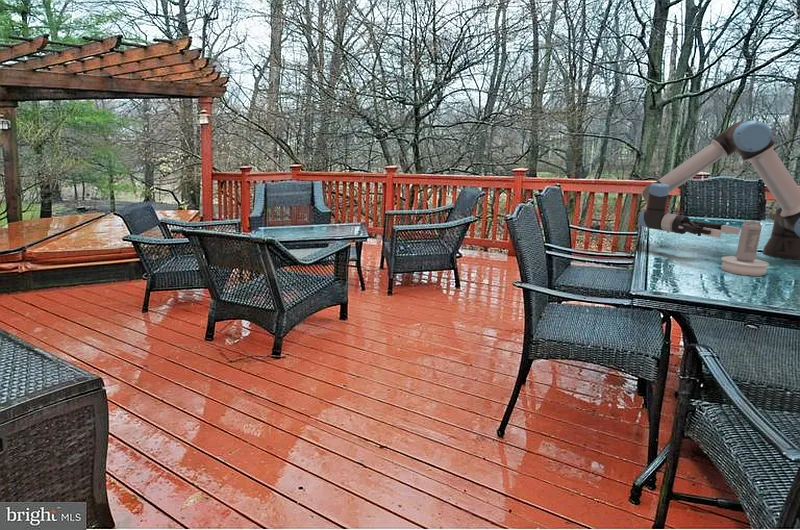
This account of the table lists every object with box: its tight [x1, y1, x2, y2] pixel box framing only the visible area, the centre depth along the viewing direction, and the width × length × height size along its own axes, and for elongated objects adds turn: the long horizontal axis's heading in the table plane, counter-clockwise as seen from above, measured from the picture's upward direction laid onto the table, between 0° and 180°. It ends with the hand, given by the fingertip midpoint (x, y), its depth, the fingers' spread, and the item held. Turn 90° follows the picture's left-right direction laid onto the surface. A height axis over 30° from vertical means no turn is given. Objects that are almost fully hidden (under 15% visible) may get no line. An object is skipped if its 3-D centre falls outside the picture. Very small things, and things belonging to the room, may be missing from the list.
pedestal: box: [720, 255, 770, 277], centre depth 190 cm, size 15×15×4 cm
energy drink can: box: [735, 219, 762, 262], centre depth 188 cm, size 6×6×15 cm
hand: (730, 232), depth 193 cm, fingers open, 13 cm apart
